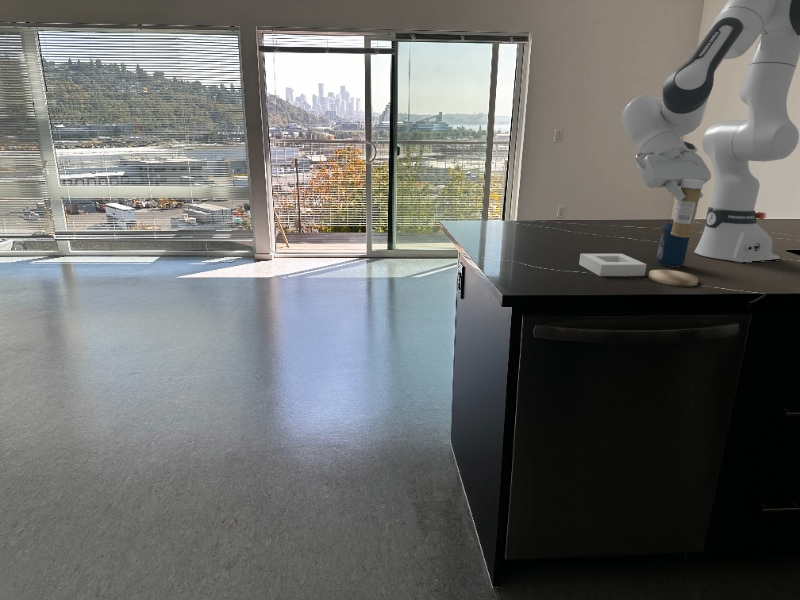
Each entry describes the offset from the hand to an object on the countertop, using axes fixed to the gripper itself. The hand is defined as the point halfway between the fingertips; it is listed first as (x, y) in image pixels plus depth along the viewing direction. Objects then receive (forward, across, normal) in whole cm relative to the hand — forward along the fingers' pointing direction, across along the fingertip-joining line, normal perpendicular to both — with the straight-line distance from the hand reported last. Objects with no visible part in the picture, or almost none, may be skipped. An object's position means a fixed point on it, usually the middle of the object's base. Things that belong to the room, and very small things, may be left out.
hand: (691, 198), depth 119 cm
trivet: (+14, 0, +15) cm, 20 cm away
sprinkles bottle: (+6, 0, +7) cm, 9 cm away
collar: (+5, -7, +24) cm, 25 cm away
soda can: (+6, +14, +22) cm, 27 cm away
